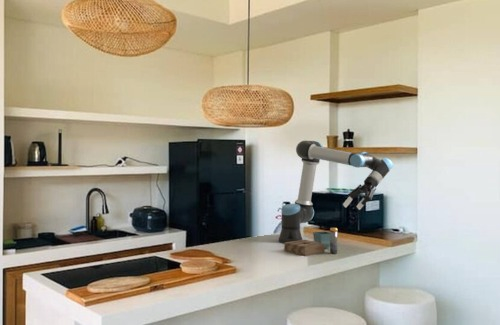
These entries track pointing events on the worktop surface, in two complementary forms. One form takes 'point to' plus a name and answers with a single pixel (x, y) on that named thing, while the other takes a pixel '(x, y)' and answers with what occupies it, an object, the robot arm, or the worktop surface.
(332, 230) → the metal pin
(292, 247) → the block
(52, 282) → the worktop surface
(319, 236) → the flower pot
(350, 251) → the worktop surface
